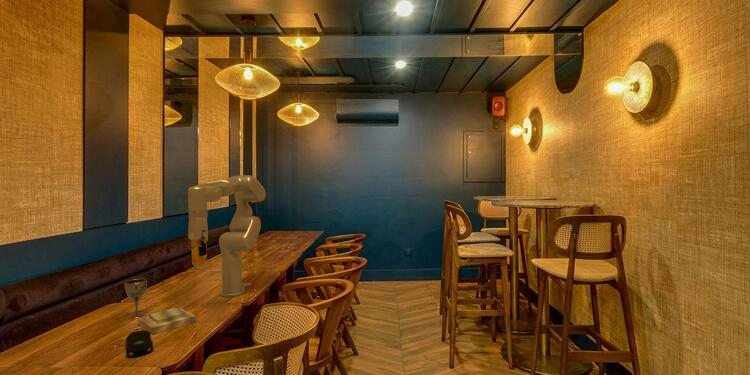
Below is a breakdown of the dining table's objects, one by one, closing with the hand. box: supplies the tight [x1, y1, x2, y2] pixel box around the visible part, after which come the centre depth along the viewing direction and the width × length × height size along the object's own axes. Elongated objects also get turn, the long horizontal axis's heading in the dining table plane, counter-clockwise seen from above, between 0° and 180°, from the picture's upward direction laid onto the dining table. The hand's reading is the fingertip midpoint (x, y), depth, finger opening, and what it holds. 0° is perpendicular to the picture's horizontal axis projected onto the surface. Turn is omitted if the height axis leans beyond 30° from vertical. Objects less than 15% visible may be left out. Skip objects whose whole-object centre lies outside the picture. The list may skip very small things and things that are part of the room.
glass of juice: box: [190, 233, 208, 267], centre depth 161 cm, size 6×6×15 cm
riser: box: [137, 307, 197, 336], centre depth 147 cm, size 16×16×4 cm
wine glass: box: [124, 278, 148, 319], centre depth 157 cm, size 8×8×15 cm
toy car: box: [125, 328, 154, 358], centre depth 125 cm, size 8×17×5 cm, turn 35°
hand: (199, 254), depth 161 cm, fingers closed on glass of juice, 6 cm apart
